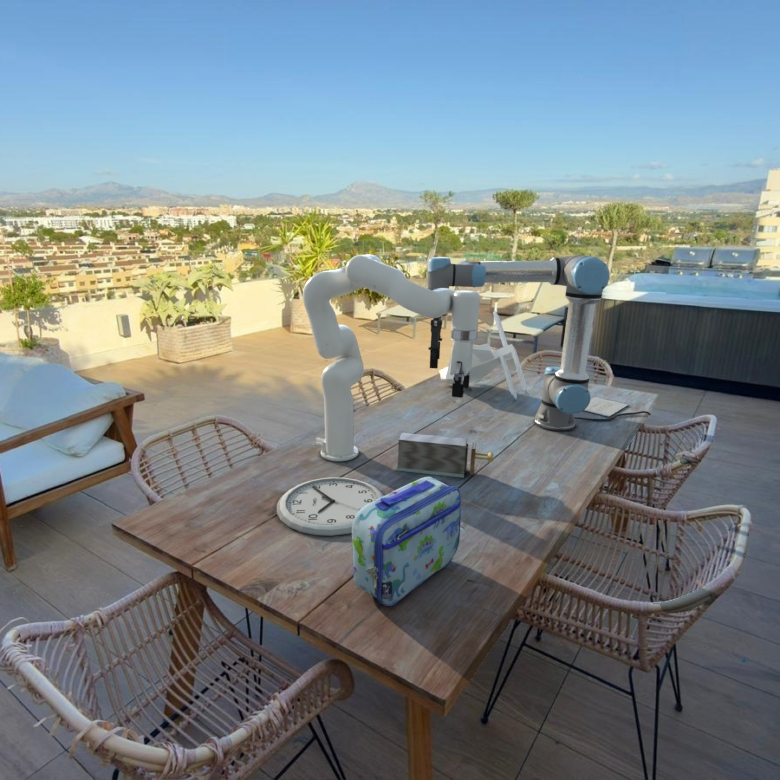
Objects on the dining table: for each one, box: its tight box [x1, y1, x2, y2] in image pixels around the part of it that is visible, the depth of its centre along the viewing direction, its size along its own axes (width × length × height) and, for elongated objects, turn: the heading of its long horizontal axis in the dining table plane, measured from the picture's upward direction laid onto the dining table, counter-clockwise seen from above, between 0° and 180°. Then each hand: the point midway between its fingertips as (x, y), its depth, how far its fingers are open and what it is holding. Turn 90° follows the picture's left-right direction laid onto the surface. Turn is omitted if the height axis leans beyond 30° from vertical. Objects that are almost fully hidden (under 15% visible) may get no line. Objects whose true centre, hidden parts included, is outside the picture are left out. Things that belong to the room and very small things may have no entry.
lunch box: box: [351, 476, 462, 607], centre depth 111 cm, size 26×11×21 cm, turn 135°
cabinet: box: [397, 432, 468, 479], centre depth 163 cm, size 21×6×10 cm, turn 78°
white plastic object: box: [438, 310, 531, 400], centre depth 245 cm, size 37×45×31 cm
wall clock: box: [276, 476, 385, 537], centre depth 142 cm, size 30×2×30 cm
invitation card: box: [583, 396, 629, 418], centre depth 226 cm, size 21×1×15 cm
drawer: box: [464, 442, 494, 476], centre depth 162 cm, size 25×5×9 cm, turn 78°
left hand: (460, 392), depth 154 cm, fingers open, 9 cm apart
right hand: (434, 363), depth 186 cm, fingers open, 13 cm apart
